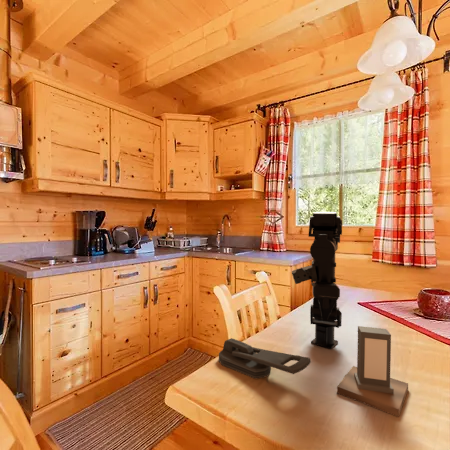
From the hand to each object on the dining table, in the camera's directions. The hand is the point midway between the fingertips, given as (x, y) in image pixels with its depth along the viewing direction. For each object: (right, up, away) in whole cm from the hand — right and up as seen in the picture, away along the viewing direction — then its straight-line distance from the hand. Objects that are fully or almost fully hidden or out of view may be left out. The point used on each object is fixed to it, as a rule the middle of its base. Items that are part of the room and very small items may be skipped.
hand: (323, 314), depth 78 cm
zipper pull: (-18, -13, -6) cm, 23 cm away
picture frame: (+7, -12, -13) cm, 19 cm away
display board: (+7, -13, -13) cm, 20 cm away
